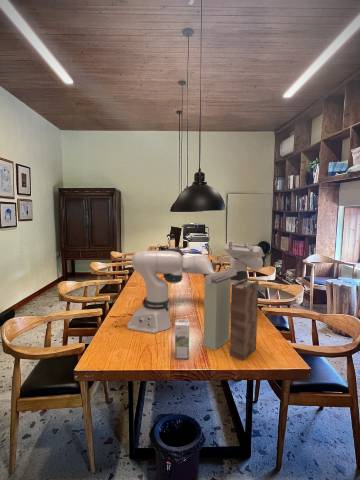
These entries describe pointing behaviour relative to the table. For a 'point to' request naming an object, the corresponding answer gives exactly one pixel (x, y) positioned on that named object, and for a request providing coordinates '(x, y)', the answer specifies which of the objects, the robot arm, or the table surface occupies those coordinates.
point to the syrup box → (181, 339)
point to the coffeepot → (215, 266)
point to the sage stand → (217, 313)
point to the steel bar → (220, 275)
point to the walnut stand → (243, 319)
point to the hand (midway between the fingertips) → (237, 244)
